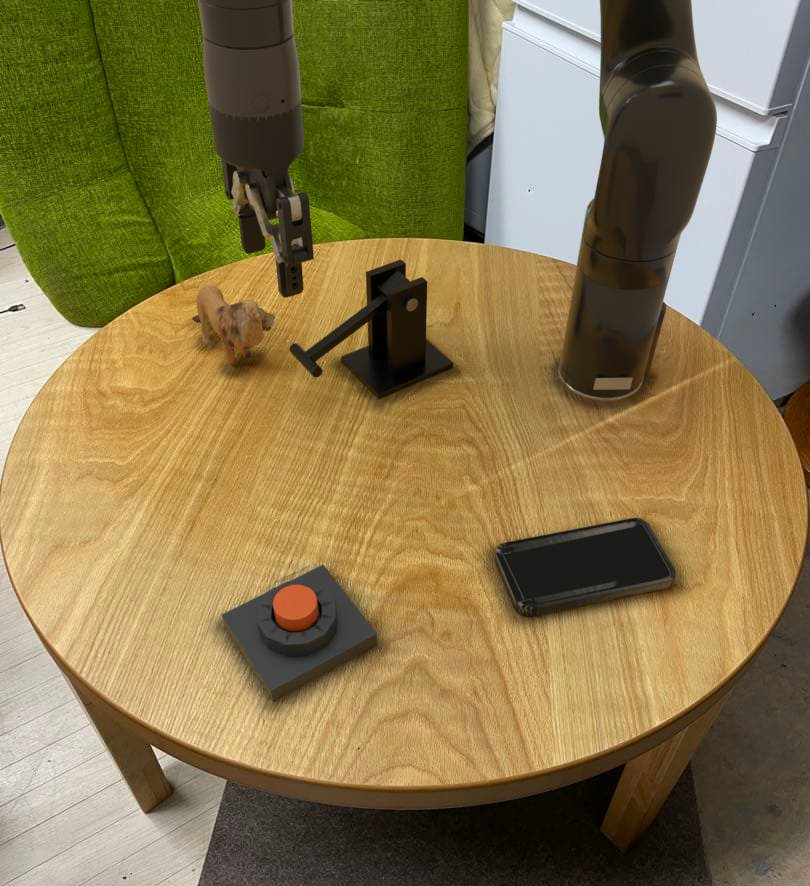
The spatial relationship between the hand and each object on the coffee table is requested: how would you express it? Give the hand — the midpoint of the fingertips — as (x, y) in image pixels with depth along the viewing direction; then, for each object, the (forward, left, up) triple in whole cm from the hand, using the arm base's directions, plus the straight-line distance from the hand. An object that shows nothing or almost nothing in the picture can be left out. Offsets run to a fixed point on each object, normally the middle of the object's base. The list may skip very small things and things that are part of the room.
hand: (272, 271), depth 82 cm
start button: (+14, +28, -13) cm, 34 cm away
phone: (-11, +36, -16) cm, 41 cm away
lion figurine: (+1, -11, -16) cm, 20 cm away
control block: (+14, +28, -16) cm, 35 cm away
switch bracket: (-13, +2, -16) cm, 21 cm away
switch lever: (-8, +2, -9) cm, 12 cm away
